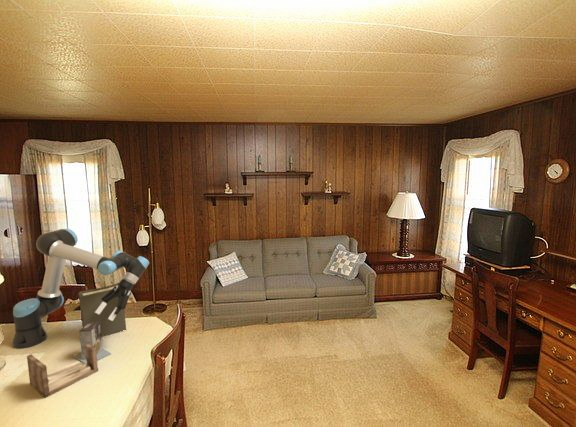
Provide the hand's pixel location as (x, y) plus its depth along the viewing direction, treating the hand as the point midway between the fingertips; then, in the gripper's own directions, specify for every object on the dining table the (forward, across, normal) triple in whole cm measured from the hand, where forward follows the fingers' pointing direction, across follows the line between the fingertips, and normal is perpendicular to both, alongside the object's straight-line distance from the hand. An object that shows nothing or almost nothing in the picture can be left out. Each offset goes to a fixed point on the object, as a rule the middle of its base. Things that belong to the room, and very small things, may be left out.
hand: (103, 316), depth 169 cm
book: (+7, +19, -20) cm, 29 cm away
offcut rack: (+30, -8, +3) cm, 31 cm away
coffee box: (+18, 0, -8) cm, 20 cm away
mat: (+18, 0, -9) cm, 20 cm away
